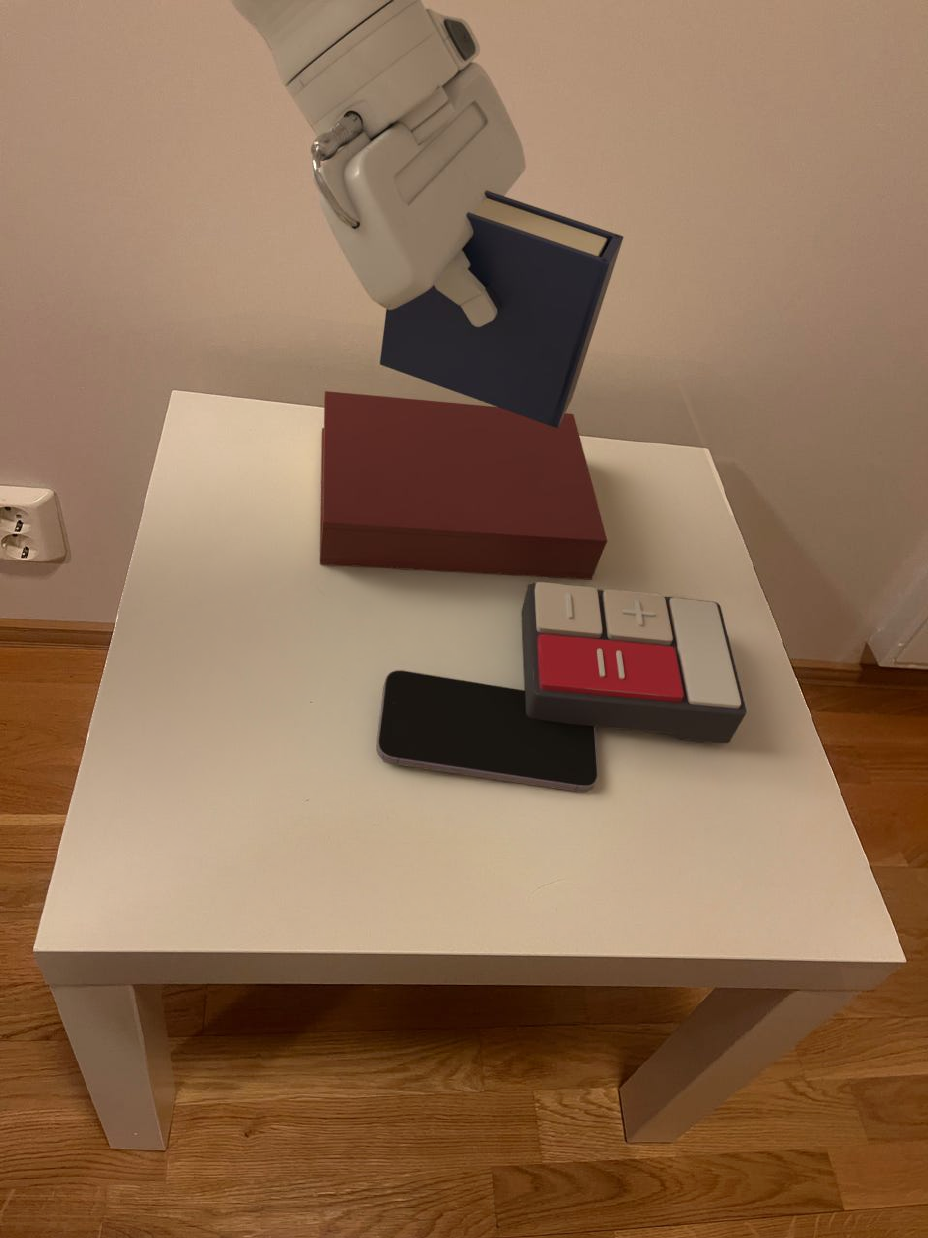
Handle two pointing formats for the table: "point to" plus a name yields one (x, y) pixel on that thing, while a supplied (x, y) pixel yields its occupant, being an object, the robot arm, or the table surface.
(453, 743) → the smartphone
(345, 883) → the table surface
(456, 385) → the hardcover book
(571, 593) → the calculator
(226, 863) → the table surface
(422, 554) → the encyclopedia
